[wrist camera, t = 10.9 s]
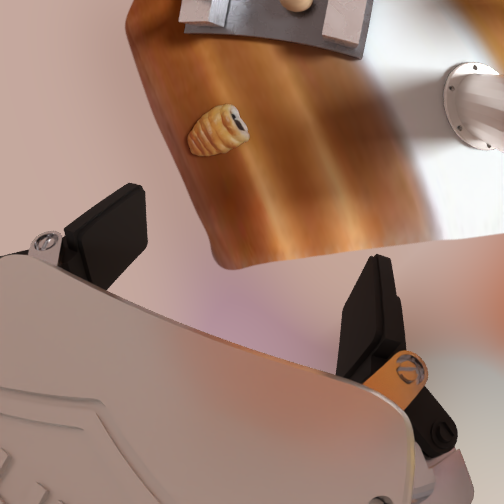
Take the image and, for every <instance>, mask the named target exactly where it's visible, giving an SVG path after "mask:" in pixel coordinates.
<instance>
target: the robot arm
mask: <svg viewBox="0 0 504 504" xmlns="http://www.w3.org/2000/svg"><path fill="white" fill-rule="evenodd" d="M473 67H474V69H473ZM449 87H451V90H450V89H449ZM443 97H444V107H445V112H446V115H447V118H448V121H449V123H450V124H451V126H452V128H453V130H454V131H455V132H456V134H457V135H458V136H459V137H460V138H461V139H462V140H463V141H465V142H466V143H467V144H469V145H471V146H472V147H474V148H477V149H480V150H494V149H498V150H499V151H501V152H503V153H504V75H499V74H498V73H497V72H496V71H495V70H493V69H492V68H490V67H489V66H487V65H484V64H481V63H475V62H469V63H464V64H461V65H459V66H458V67H456V68H455V69H454V70H453V71H452V72H451V73H450V75H449V76H448V78H447V80H446V84H445V87H444V95H443ZM457 126H459V128H458V129H457ZM64 232H65V236H64V237H63V238H62V235H61V234H60V233H59V232H56V231H48V232H44V233H42V234H40V235H38V236H37V237H36V238H35V239H34V240H33V241H32V243H31V246H30V249H29V250H25V251H21V252H17V253H12V254H8V255H4V256H0V504H471V502H472V500H473V497H474V488H473V484H472V481H471V479H470V475H469V473H468V470H467V467H466V465H465V462H464V459H463V456H462V454H461V451H460V449H458V450H456V449H455V444H456V442H457V437H458V435H457V428H456V425H455V423H454V421H453V420H452V419H451V417H449V415H448V414H447V412H446V411H445V410H444V409H443V408H442V406H441V405H440V404H439V403H438V401H437V400H436V399H435V398H434V396H433V395H432V394H431V393H430V392H429V390H428V389H427V388H426V387H425V386H424V385H425V384H426V382H427V380H428V370H427V367H426V365H425V363H424V361H423V360H422V359H421V358H420V357H419V356H418V355H417V354H415V353H413V352H411V351H406V342H405V331H404V322H403V315H402V307H401V301H400V298H399V297H398V296H397V295H396V288H395V282H394V276H393V270H392V264H391V260H390V258H388V257H384V256H382V255H378V254H376V255H375V256H374V257H373V256H370V257H369V259H368V261H367V263H366V265H365V267H364V269H363V271H362V273H361V275H360V277H359V279H358V281H357V283H356V285H355V286H354V288H353V290H352V292H351V294H350V296H349V298H348V300H347V301H346V303H345V306H344V308H343V311H342V321H341V332H340V343H339V352H338V361H337V368H336V375H334V374H330V373H327V372H324V371H321V370H317V369H313V368H310V367H307V366H303V365H300V364H297V363H294V362H290V361H287V360H284V359H281V358H277V357H274V356H271V355H268V354H265V353H262V352H259V351H256V350H253V349H249V348H247V347H243V346H241V345H238V344H235V343H232V342H230V341H227V340H224V339H221V338H219V337H216V336H213V335H210V334H208V333H205V332H202V331H200V330H197V329H195V328H192V327H189V326H187V325H184V324H182V323H179V322H177V321H174V320H172V319H169V318H167V317H165V316H162V315H160V314H158V313H155V312H153V311H151V310H148V309H146V308H143V307H141V306H139V305H137V304H134V303H132V302H130V301H128V300H125V299H123V298H121V297H119V296H117V295H115V294H112V293H110V292H108V291H106V290H107V289H108V288H109V287H110V286H111V285H112V284H113V283H114V281H115V280H116V279H117V278H118V277H119V276H120V275H121V274H122V273H123V272H124V270H126V268H127V267H128V266H129V265H130V264H131V263H132V262H133V261H134V260H135V259H136V258H137V257H138V256H139V255H140V254H141V253H142V252H143V251H144V250H145V248H146V247H147V243H148V240H147V239H148V238H147V222H146V202H145V191H144V190H143V188H142V186H141V185H137V184H132V183H128V184H126V185H124V186H123V187H121V188H120V189H118V190H117V191H115V192H114V193H112V194H111V195H109V196H108V197H106V198H105V199H104V200H102V201H101V202H99V203H98V204H96V205H95V206H94V207H92V208H91V209H89V210H88V211H87V212H85V213H84V214H82V215H81V216H80V217H78V218H77V219H76V220H74V221H73V222H72V223H70V224H69V225H68V226H67V227H65V228H64Z"/></svg>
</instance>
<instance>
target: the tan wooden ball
mask: <svg viewBox="0 0 504 504" xmlns="http://www.w3.org/2000/svg"><path fill="white" fill-rule="evenodd" d="M280 3H281V4H282V6H283V7H284V8H286V9H287V10H290V11H293V12H302V11H305V10H307V9H308V8H310V7H311V5H312V3H313V0H280Z"/></svg>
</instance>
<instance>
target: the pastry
mask: <svg viewBox="0 0 504 504" xmlns="http://www.w3.org/2000/svg"><path fill="white" fill-rule="evenodd" d="M249 138H250V136H249V133H248V128H247V126H246V124H245V123H244V122H243V120H242V119H241V118H240V115H239V112H238V110H237V109H236V107H234V106H233V105H230V104H224V105H221V106H216V107H214V108H213V109H211V110H210V111H209V112H207V113H206V114H204V115H203V116H202V117H201V118H200V119H199V120H198V121H197V123H196V124H195V125H194V128H193V129H192V131H191V132H190V133H189V135H188V138H187V139H188V145H189V147H190V151H191V153H192V154H195V155H197V156H210V155H211V156H212V155H216V154H218V153H227V152H228V151H229V150H231V149H234V148H236V147H238V146H239V145H240V144H242V143H244V142H247V141H248V140H249Z"/></svg>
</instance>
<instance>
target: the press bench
mask: <svg viewBox="0 0 504 504" xmlns="http://www.w3.org/2000/svg"><path fill="white" fill-rule="evenodd" d="M372 6H373V0H313V3H312V5H311V7H310V8H308V9H307V10H305V11H302V12H293V11H290V10H287V9H286V8H284V7H283V6H282V4H281V3H280V0H229V3H228V8H227V13H226V19H225V24H224V27H197V26H193V25H189V24H185V31H184V33H186V34H215V35H233V36H246V37H256V38H264V39H272V40H279V41H285V42H291V43H296V44H302V45H307V46H312V47H316V48H321V49H325V50H329V51H333V52H337V53H341V54H344V55H348V56H351V57H355V58H358V59H362V57H363V52H364V47H365V42H366V37H367V32H368V27H369V22H370V17H371V11H372Z"/></svg>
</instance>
